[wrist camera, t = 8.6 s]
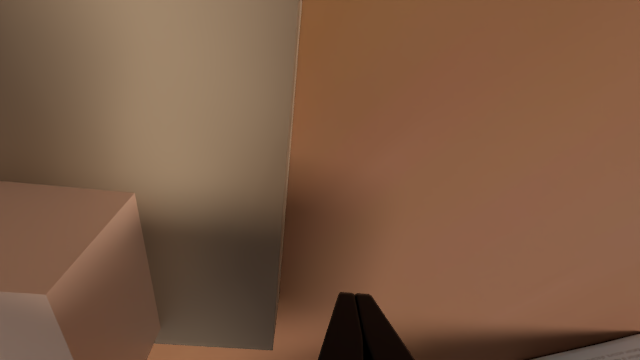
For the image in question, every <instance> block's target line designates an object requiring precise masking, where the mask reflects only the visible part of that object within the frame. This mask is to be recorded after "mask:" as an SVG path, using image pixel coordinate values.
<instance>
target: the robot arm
mask: <svg viewBox="0 0 640 360" xmlns="http://www.w3.org/2000/svg"><path fill="white" fill-rule="evenodd" d="M318 360H415V359H414V358H413V357H412V355H411V354H410V352H409V351H408V349H407V348H406V346H405V345H404V343H403V342H402V340H401V339H400V337H399V336H398V334H397V333H396V331H395V330H394V328H393V327H392V326H391V324H390V323H389V321H388V320H387V318H386V317H385V315H384V314H383V312H382V311H381V309H380V308H379V306H378V305H377V303H376V302H375V300H374V299H373V298H372V296H371V295H369V294H360V293H357V294H355V295H354V294H353V293H346V292H340V293H339V295H338V298H337V301H336V304H335V307H334V310H333V313H332V316H331V320H330V323H329V326H328V329H327V332H326V335H325V339H324V342H323V345H322V348H321V351H320V354H319V357H318Z"/></svg>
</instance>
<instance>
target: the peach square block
mask: <svg viewBox="0 0 640 360" xmlns="http://www.w3.org/2000/svg"><path fill="white" fill-rule="evenodd" d="M160 329H161V327H160V322H159V317H158V311H157V306H156V301H155V296H154V291H153V285H152V280H151V275H150V270H149V265H148V259H147V254H146V249H145V244H144V239H143V233H142V228H141V223H140V218H139V212H138V207H137V202H136V197H135V193H131V192H120V191H108V190H97V189H86V188H74V187H63V186H52V185H40V184H29V183H18V182H7V181H0V360H147V357H148V355H149V353H150V351H151V349H152V346H153V344H154V342H155V340H156V337H157V335H158V333H159V331H160Z"/></svg>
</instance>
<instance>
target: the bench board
mask: <svg viewBox="0 0 640 360" xmlns="http://www.w3.org/2000/svg"><path fill="white" fill-rule="evenodd" d="M301 8H302V0H0V181H7V182H18V183H29V184H40V185H52V186H63V187H74V188H86V189H97V190H108V191H120V192H131V193H135V197H136V202H137V207H138V212H139V218H140V223H141V228H142V233H143V239H144V244H145V249H146V254H147V259H148V265H149V270H150V275H151V280H152V285H153V291H154V296H155V301H156V306H157V311H158V317H159V322H160V327H161V329H160V331H159V333H158V335H157V337H156V340H155V342H154V343H156V344H173V345H190V346H207V347H224V348H241V349H258V350H273V343H274V334H275V326H276V317H277V309H278V300H279V287H280V275H281V262H282V249H283V237H284V224H285V211H286V199H287V186H288V173H289V161H290V148H291V135H292V123H293V110H294V97H295V85H296V72H297V59H298V47H299V34H300V21H301Z"/></svg>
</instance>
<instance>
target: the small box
mask: <svg viewBox="0 0 640 360" xmlns="http://www.w3.org/2000/svg"><path fill="white" fill-rule="evenodd" d="M531 360H640V334H637V335H633V336H629V337H625V338H621V339H617V340H613V341H609V342H605V343H601V344H597V345H592V346H588V347H584V348H579V349H575V350H570V351H566V352H562V353H557V354H553V355H549V356H544V357H540V358H536V359H531Z"/></svg>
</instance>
